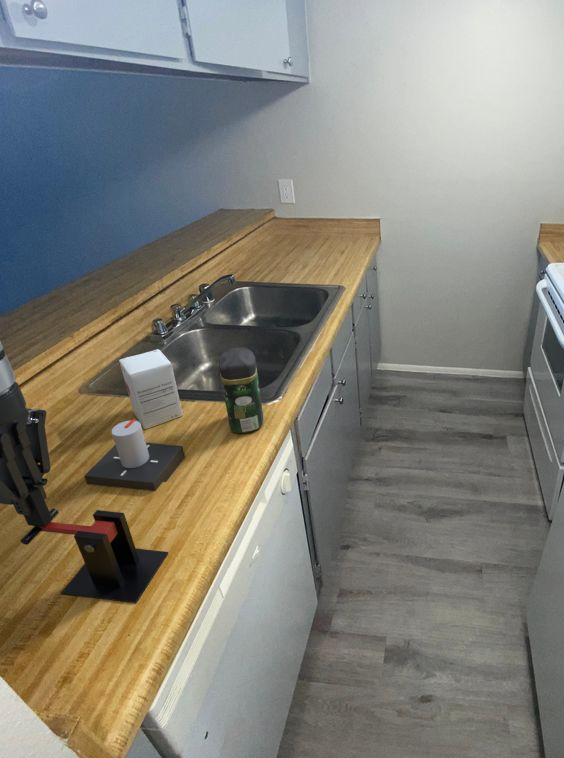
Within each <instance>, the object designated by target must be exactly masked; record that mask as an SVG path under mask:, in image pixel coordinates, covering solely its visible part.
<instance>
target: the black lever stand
mask: <svg viewBox="0 0 564 758" xmlns="http://www.w3.org/2000/svg"><path fill="white" fill-rule="evenodd" d="M92 517H93V520H94V523H95V522H96V521H107V522H114V524H115V526H116V529H117V532H118V534H117V535H116V536H115V538H114V539H113V540H112V541H111V543H110V541H109V539H108V536H107V534H103V533H94V532H85V531H78V532H77V533H76V534H75V535H73V538H74V540H75V543H76V546H77V547H78V550H79V553H80V556H81V557H82V560H83V562H84V564H83V565H82V566H81V568H79V570H78V571H77V573H76V574H75V575H74V576H73V577H72V579H70V582H68V583H67V585H66V586H65V587H64V588H63V590H62V591H61V592H60V595H63V596H71V597H78V598H87V599H94V600H104V601H111V602H121V603H130V604H137V603H138V602H139V600H140V599H141V598H142V596H143V594H144V593H145V591H146V590H147V588H148V586H149V585H150V584H151V582H152V580H153V579H154V577H155V575H156V574H157V572H158V571H159V569H160V567H161V566H162V564H163V563H164V562H165V560H166V559H167V557H168V555H169V551H163V550H154V549H145V548H136V545H135V542H134V539H133V536H132V533H131V530H130V528H129V524H128V520H127V518H126V515H125V512H121V511H120V512H119V511H108V510H100V509H96V511H94V512H93V513H92Z"/></svg>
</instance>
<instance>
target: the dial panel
mask: <svg viewBox="0 0 564 758" xmlns="http://www.w3.org/2000/svg"><path fill="white" fill-rule="evenodd" d="M146 446H147V449H148V453H149V459H148V461H147V462H146V463H144V464H143V465H141V466H139V467H136V468H125V467H123V466H122V464H121V461H120V458H119V454H118V451H117V448H116V445H115V444H114V445H113V446H112V447H111V448H110V449H109V450H108V451H107V452H106V453H105V454H104V455H103V456H102V457H101V458H100V459H99V460H98V461H96V463H95V464H94V465H93V466H92V467H91V468H90V469H89V470H88V471H87V472H86V473H85V474H84V480H85V483H86V484H87V485H91V486H104V487H113V488H123V489H131V490H132V489H134V490H142V491H151V492H153V491H154V492H156V491H157V490H158V489H159V487H160V486H161V485H162V483H167V481H168V480H169V479H170V478H171V476H172V475H173V473H174V472H175V471H177V470H176V469H178V467H179V466H180V465H181V463H182V462H183V461H184V459H186V454H185V449H184V446H183V445H178V444H177V445H176V444H167V443H156V442H146Z"/></svg>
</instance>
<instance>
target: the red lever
mask: <svg viewBox="0 0 564 758" xmlns="http://www.w3.org/2000/svg"><path fill="white" fill-rule="evenodd" d="M49 512H50V514H51V516H52V519H53V520H54V518H55V517H56V516H58V514H60V511H59V510H58V509H57V508H54V507H53V508H51V509H50V510H49ZM78 531H85V532H94V533H103V534H107V536H108V539H109V541H110V543H111V541H112V540H113V539H114V538H115V536H116V535H117V534H118V532H117V529H116V526H115V524H114V522H107V521H96V522H95V521H94V523H93V524H92V525H84V524H83V525H82V524H76V523H75V524H73V523H66V522H65V523H64V522H56V521H51V522H50V523H49V524H48V525H47V526H46V527H39V526H32V528H31V529H29V531H28V532H27V533H26V534H24V536H23V537H22V538H21V539H20V543H21V544H22V545H25V546H26V545H27V546H28V545H30V544H31V542H32V541H33V540H34V539H35V538H36V537H37V536H38V535H39V534H41V532H45V533H53V534H54V533H55V534H63V535H71V536H72V535H73V536H74V535H75V534H76V533H77V532H78Z"/></svg>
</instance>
